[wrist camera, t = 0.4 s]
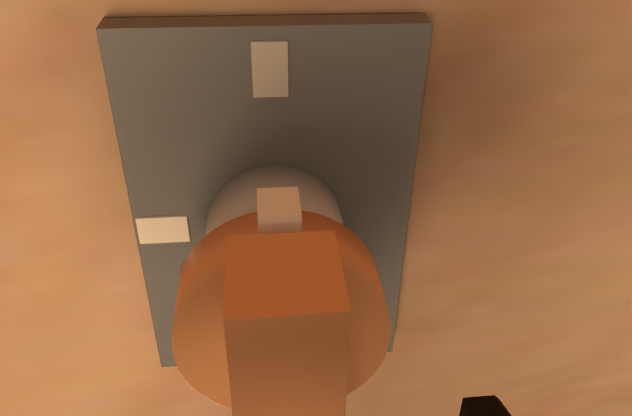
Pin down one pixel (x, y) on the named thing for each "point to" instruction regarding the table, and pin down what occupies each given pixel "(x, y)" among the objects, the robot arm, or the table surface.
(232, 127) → the post base
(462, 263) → the table surface
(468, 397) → the robot arm
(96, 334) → the table surface
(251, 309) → the bayonet cap
